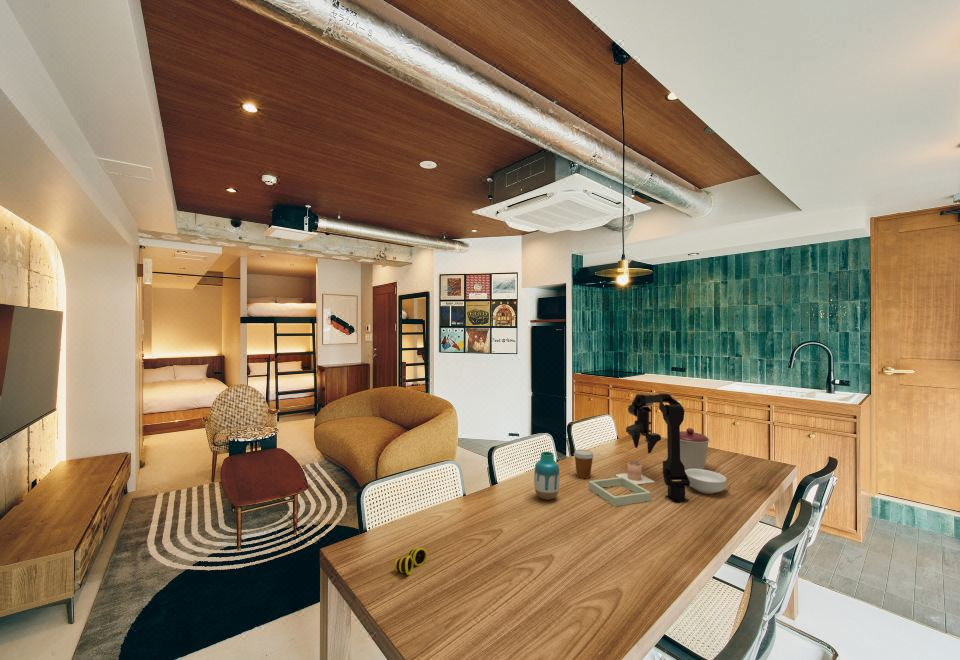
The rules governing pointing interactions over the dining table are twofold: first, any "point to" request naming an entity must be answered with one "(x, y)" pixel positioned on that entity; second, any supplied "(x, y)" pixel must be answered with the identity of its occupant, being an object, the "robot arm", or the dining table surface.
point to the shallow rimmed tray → (639, 495)
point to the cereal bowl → (706, 480)
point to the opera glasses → (411, 560)
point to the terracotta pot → (634, 471)
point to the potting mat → (643, 481)
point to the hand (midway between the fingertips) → (642, 450)
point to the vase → (546, 477)
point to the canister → (693, 449)
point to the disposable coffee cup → (583, 462)
